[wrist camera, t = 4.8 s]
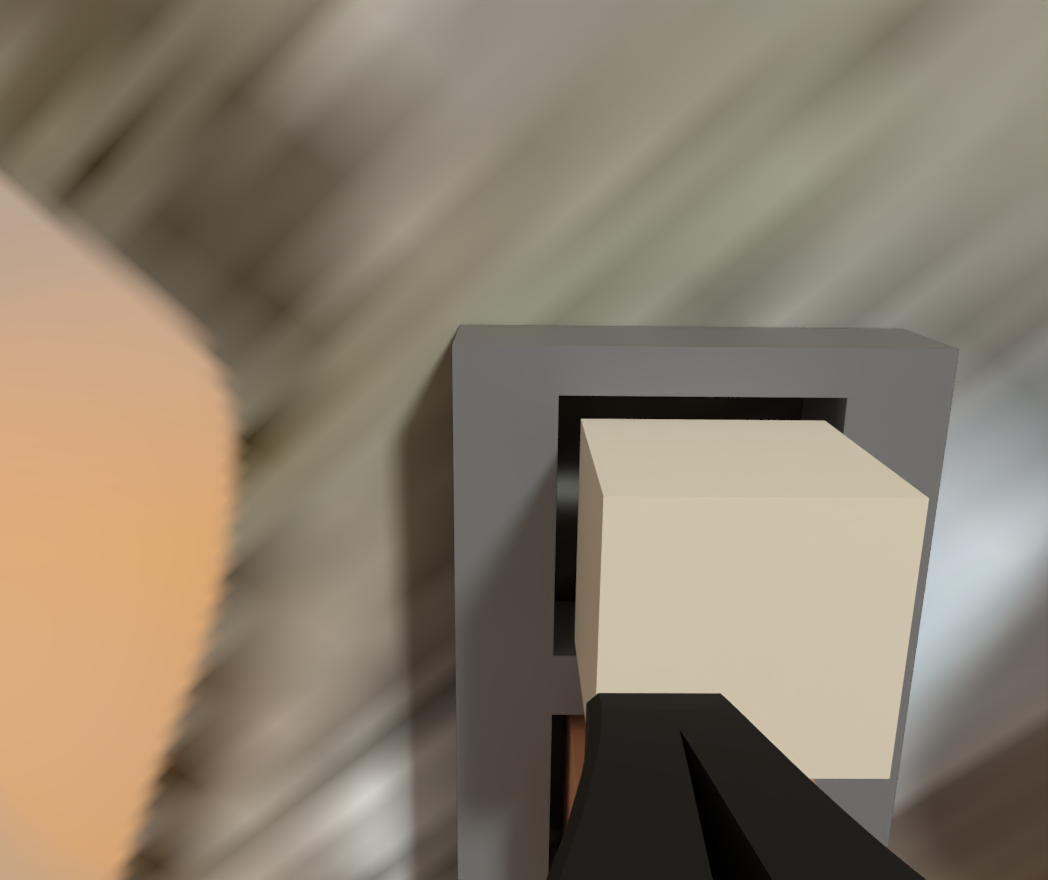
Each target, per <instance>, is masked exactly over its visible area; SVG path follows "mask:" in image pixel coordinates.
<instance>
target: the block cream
mask: <svg viewBox="0 0 1048 880" xmlns="http://www.w3.org/2000/svg"><path fill="white" fill-rule="evenodd" d="M928 503H929V498H928V497H927V496H925V495H924V494H923V493H921V492H920V491H919V490H917V489H916V488H915V487H913V486H912V485H911V484H909V483H908V482H907V481H905V480H904V479H903V478H901V477H900V476H899V475H897V474H896V473H895V472H893V471H892V470H891V469H889V468H888V467H887V466H885V465H884V464H882V463H881V462H880V461H878V460H877V459H876V458H874V457H873V456H872V455H870V454H869V453H868V452H866V451H865V450H864V449H862V448H861V447H860V446H858V445H857V444H856V443H854V442H853V441H852V440H850V439H849V438H848V437H846V436H845V435H844V434H842V433H841V432H840V431H838V430H837V429H836V428H834V427H833V426H832V425H830V424H829V423H827V422H826V421H816V420H685V419H581V431H580V465H579V500H578V535H577V569H576V604H575V639H574V640H575V648H576V655H577V662H578V670H579V677H580V685H581V692H582V699H583V707H584V714H585V722H586V703H587V702H588V701H589V700H591V699H592V698H593V697H594V696H595V695H596V694H598V693H721V694H722V695H723V696H724V697H725V698H726V699H727V700H728V701H730V702H731V703H732V704H733V705H734V706H735V707H736V708H737V709H738V710H739V711H740V712H741V713H742V714H743V715H744V716H745V717H746V718H747V719H748V720H749V721H750V722H751V723H752V724H753V725H754V726H755V727H756V728H757V729H758V730H759V731H760V732H761V733H762V734H763V735H764V736H766V737H767V738H768V739H769V740H770V741H771V742H772V743H773V744H774V745H775V746H776V747H777V748H778V749H779V750H780V751H781V752H782V753H783V754H784V755H785V756H786V757H787V758H788V759H789V760H790V761H791V762H792V763H793V764H795V765H796V766H797V767H798V768H799V769H800V770H801V771H802V772H803V773H804V774H805V775H806V776H807V777H808V778H809V779H890V773H891V765H892V758H893V751H894V744H895V737H896V730H897V723H898V716H899V709H900V702H901V695H902V687H903V680H904V673H905V666H906V659H907V652H908V645H909V638H910V631H911V624H912V617H913V609H914V602H915V595H916V588H917V581H918V574H919V567H920V560H921V553H922V546H923V539H924V531H925V524H926V517H927V510H928Z"/></svg>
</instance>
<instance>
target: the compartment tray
mask: <svg viewBox="0 0 1048 880" xmlns="http://www.w3.org/2000/svg"><path fill="white" fill-rule="evenodd" d="M958 355H959V349H957V348H954V347H952V346H949V345H946V344H943V343H941V342H938V341H935V340H932V339H930V338H927V337H924V336H921V335H918V334H916V333H913V332H910V331H907V330H905V329H866V328H756V327H645V326H535V325H460V326H459V329H458V331H457V334H456V336H455V339H454V341H453V344H452V380H453V471H454V561H455V651H456V741H457V832H458V880H546V879H547V876H548V874H549V871H550V869H551V866H552V864H553V861H554V858H555V856H556V853H557V851H558V848H549V821H550V775H551V729H552V715H585V714H584V707H583V699H582V692H581V685H580V677H579V670H578V662H577V655H576V648H575V640H574V639H575V604H576V601H554V592H555V546H556V500H557V454H558V408H559V396H681V397H803V403H802V413H801V420H816V421H826V422H827V423H829V424H830V425H832V426H833V427H834V428H836V429H837V430H838V431H840V432H841V433H842V434H844V435H845V436H846V437H848V438H849V439H850V440H852V441H853V442H854V443H856V444H857V445H858V446H860V447H861V448H862V449H864V450H865V451H866V452H868V453H869V454H870V455H872V456H873V457H874V458H876V459H877V460H878V461H880V462H881V463H882V464H884V465H885V466H887V467H888V468H889V469H891V470H892V471H893V472H895V473H896V474H897V475H899V476H900V477H901V478H903V479H904V480H905V481H907V482H908V483H909V484H911V485H912V486H913V487H915V488H916V489H917V490H919V491H920V492H921V493H923V494H924V495H925V496H927V497H928V498H929V503H928V510H927V517H926V524H925V531H924V539H923V546H922V553H921V560H920V567H919V574H918V581H917V588H916V595H915V602H914V609H913V617H912V624H911V631H910V638H909V645H908V652H907V659H906V666H905V673H904V680H903V687H902V695H901V702H900V709H899V716H898V723H897V730H896V737H895V744H894V751H893V758H892V765H891V773H890V779H814V780H815V782H816V784H817V786H818V787H819V788H820V789H821V790H822V791H823V792H824V793H825V794H827V795H828V796H829V797H830V798H831V799H832V800H833V801H834V802H835V803H836V804H838V805H839V806H840V807H841V808H842V809H843V810H844V811H845V812H846V813H848V814H849V815H850V816H851V817H852V818H853V819H854V820H855V821H857V822H858V823H859V824H860V825H861V826H862V827H863V828H864V829H866V830H867V831H868V832H869V833H870V834H871V835H873V836H874V837H875V838H876V839H877V840H878V841H880V842H881V843H882V844H883V845H884V846H885V847H887V848H888V842H889V835H890V828H891V821H892V814H893V807H894V800H895V793H896V786H897V779H898V772H899V765H900V758H901V751H902V745H903V738H904V731H905V724H906V717H907V710H908V703H909V696H910V689H911V682H912V675H913V668H914V661H915V654H916V647H917V640H918V633H919V626H920V619H921V612H922V605H923V598H924V592H925V585H926V578H927V571H928V564H929V557H930V550H931V543H932V536H933V529H934V522H935V515H936V508H937V501H938V494H939V487H940V480H941V473H942V466H943V459H944V452H945V445H946V439H947V432H948V425H949V418H950V411H951V404H952V397H953V390H954V383H955V376H956V369H957V362H958Z"/></svg>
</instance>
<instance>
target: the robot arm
mask: <svg viewBox="0 0 1048 880" xmlns="http://www.w3.org/2000/svg"><path fill="white" fill-rule="evenodd" d="M546 880H926V879H924V878H923V877H922V876H921V875H919V874H918V873H917V872H916V871H914V870H913V869H912V868H911V867H910V866H908V865H907V864H906V863H905V862H903V861H902V860H901V859H900V858H898V857H897V856H896V855H895V854H894V853H892V852H891V851H890V850H889V849H888V848H887V847H885V846H884V845H883V844H882V843H881V842H880V841H878V840H877V839H876V838H875V837H874V836H873V835H871V834H870V833H869V832H868V831H867V830H866V829H864V828H863V827H862V826H861V825H860V824H859V823H858V822H857V821H855V820H854V819H853V818H852V817H851V816H850V815H849V814H848V813H846V812H845V811H844V810H843V809H842V808H841V807H840V806H839V805H838V804H836V803H835V802H834V801H833V800H832V799H831V798H830V797H829V796H828V795H827V794H825V793H824V792H823V791H822V790H821V789H820V788H819V787H818V786H817V785H816V784H815V783H814V782H813V781H811V780H810V779H809V778H808V777H807V776H806V775H805V774H804V773H803V772H802V771H801V770H800V769H799V768H798V767H797V766H796V765H795V764H793V763H792V762H791V761H790V760H789V759H788V758H787V757H786V756H785V755H784V754H783V753H782V752H781V751H780V750H779V749H778V748H777V747H776V746H775V745H774V744H773V743H772V742H771V741H770V740H769V739H768V738H767V737H766V736H764V735H763V734H762V733H761V732H760V731H759V730H758V729H757V728H756V727H755V726H754V725H753V724H752V723H751V722H750V721H749V720H748V719H747V718H746V717H745V716H744V715H743V714H742V713H741V712H740V711H739V710H738V709H737V708H736V707H735V706H734V705H733V704H732V703H731V702H730V701H728V700H727V699H726V698H725V697H724V696H723V695H722V694H721V693H598V694H596V695H595V696H594V697H593V698H592V699H591V700H589V701H588V702H587V703H586V726H585V756H584V764H583V769H582V774H581V778H580V781H579V785H578V788H577V792H576V795H575V799H574V802H573V806H572V809H571V813H570V816H569V819H568V823H567V826H566V829H565V832H564V835H563V838H562V840H561V843H560V846H559V848H558V851H557V853H556V856H555V858H554V861H553V864H552V866H551V869H550V871H549V874H548V876H547V879H546Z"/></svg>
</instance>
